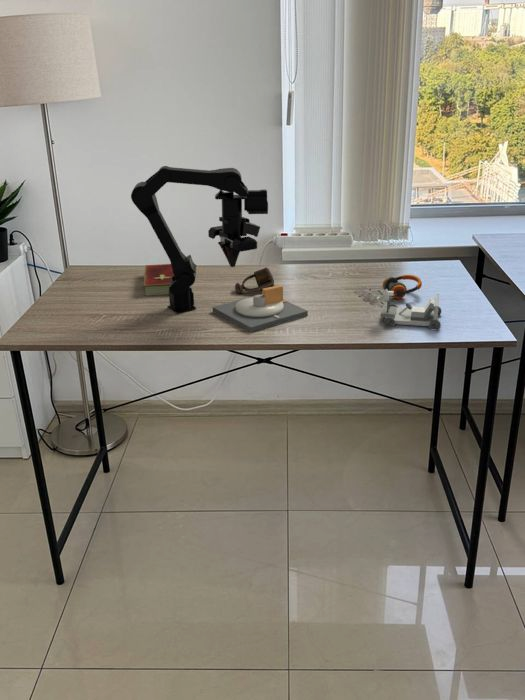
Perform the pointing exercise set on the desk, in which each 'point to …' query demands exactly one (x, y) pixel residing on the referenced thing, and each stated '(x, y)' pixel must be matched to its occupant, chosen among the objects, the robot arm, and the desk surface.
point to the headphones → (395, 287)
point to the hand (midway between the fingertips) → (232, 266)
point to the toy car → (410, 312)
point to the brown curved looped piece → (262, 279)
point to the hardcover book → (157, 279)
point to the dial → (262, 303)
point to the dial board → (259, 323)
